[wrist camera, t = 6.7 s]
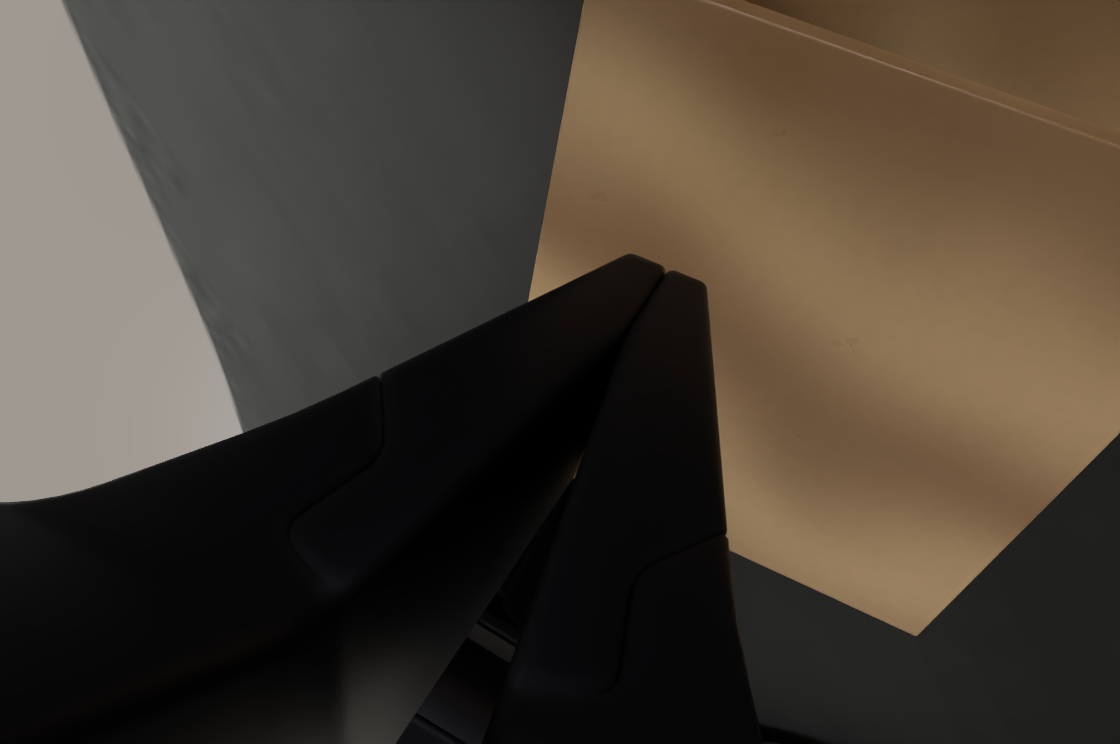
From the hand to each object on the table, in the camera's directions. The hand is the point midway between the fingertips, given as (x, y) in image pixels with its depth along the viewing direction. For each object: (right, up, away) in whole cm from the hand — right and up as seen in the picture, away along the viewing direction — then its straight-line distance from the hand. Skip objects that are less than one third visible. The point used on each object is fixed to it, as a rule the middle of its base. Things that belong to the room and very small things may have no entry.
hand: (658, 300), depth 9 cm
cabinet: (+6, +3, +13) cm, 14 cm away
